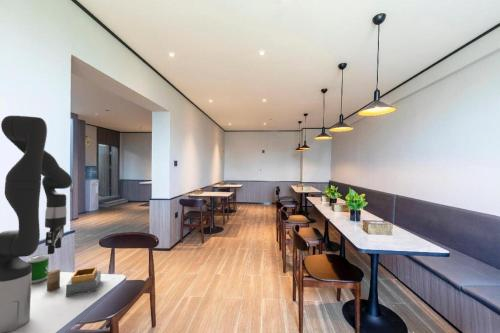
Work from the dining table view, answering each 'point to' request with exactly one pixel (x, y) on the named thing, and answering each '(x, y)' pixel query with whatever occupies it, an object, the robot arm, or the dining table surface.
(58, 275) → the walnut plug
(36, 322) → the dining table surface
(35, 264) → the soda can
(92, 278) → the box
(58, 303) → the dining table surface
